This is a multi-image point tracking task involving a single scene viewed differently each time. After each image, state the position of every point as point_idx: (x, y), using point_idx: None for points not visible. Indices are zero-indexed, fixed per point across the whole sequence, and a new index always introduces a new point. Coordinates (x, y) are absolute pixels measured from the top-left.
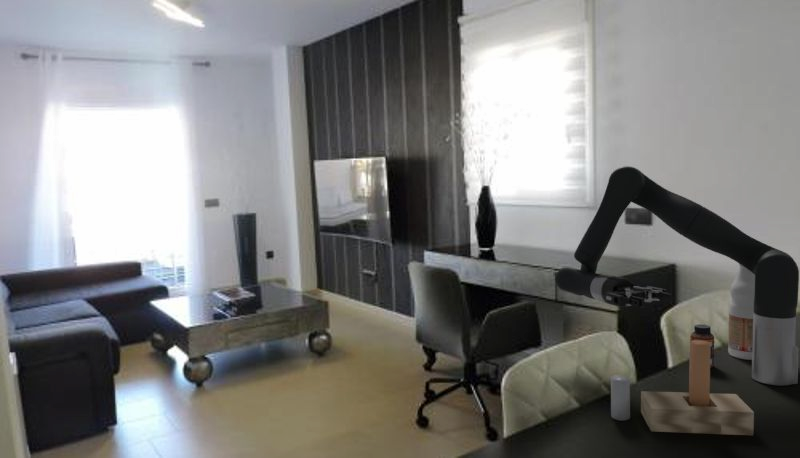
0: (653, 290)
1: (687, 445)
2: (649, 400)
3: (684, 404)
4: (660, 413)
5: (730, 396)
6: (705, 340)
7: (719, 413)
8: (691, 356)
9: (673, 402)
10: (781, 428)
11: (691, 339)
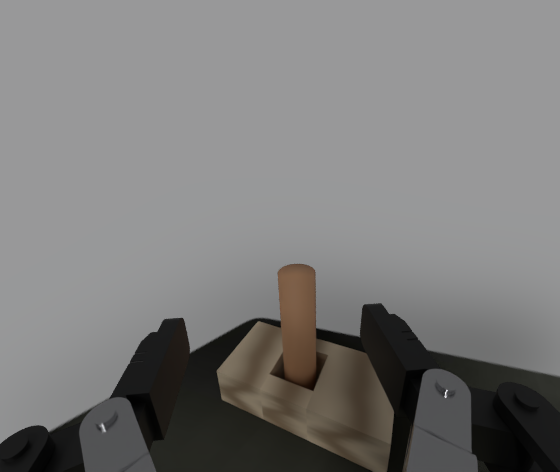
0: (119, 462)
1: (358, 347)
2: None
3: (332, 361)
4: None
5: (235, 365)
6: None
7: None
8: (315, 295)
9: (346, 372)
10: (209, 351)
11: None
